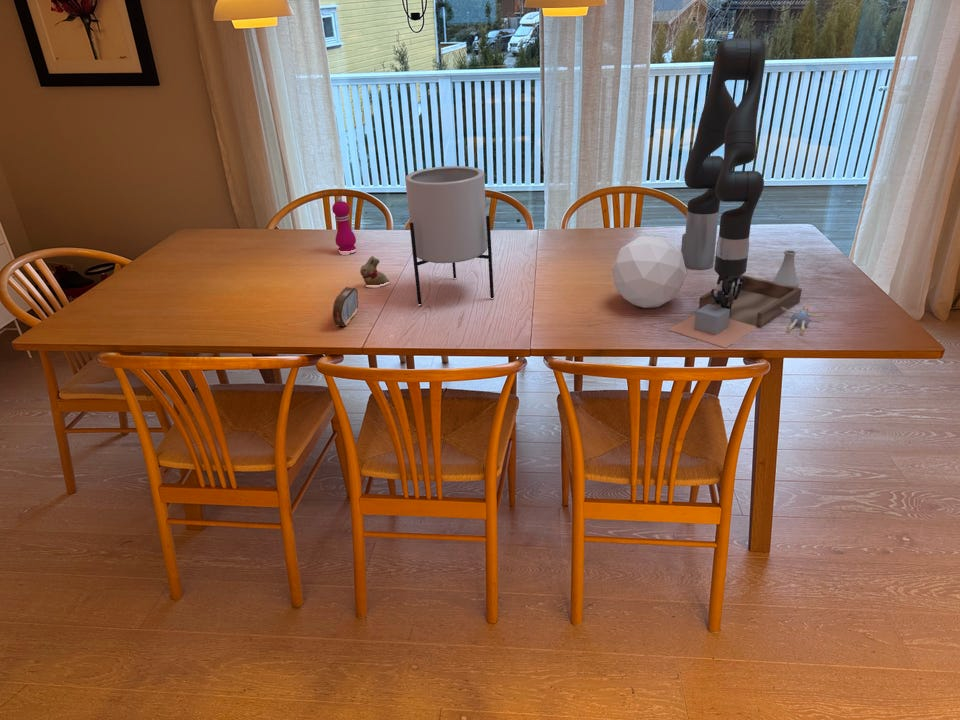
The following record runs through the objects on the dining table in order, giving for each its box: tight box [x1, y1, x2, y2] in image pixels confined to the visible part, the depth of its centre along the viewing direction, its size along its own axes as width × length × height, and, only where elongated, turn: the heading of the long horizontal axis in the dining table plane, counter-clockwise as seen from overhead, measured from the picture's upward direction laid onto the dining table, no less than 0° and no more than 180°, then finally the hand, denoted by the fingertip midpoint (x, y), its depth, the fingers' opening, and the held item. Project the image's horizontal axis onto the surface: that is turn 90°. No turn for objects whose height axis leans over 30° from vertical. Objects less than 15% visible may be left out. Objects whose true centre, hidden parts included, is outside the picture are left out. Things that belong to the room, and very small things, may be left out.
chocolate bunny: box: [359, 255, 390, 285], centre depth 215 cm, size 6×8×10 cm
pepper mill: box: [332, 196, 357, 251], centre depth 244 cm, size 7×7×20 cm
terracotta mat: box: [668, 314, 758, 349], centre depth 175 cm, size 16×16×1 cm
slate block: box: [694, 304, 730, 335], centre depth 174 cm, size 6×6×5 cm
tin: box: [332, 286, 359, 326], centre depth 192 cm, size 15×3×8 cm, turn 171°
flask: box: [772, 249, 800, 288], centre depth 196 cm, size 7×7×10 cm
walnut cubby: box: [698, 274, 803, 328], centre depth 185 cm, size 17×22×4 cm
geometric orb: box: [612, 235, 688, 309], centre depth 187 cm, size 19×20×20 cm
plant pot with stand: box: [404, 165, 495, 305], centre depth 198 cm, size 24×24×36 cm
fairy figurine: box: [780, 305, 830, 336], centre depth 173 cm, size 12×5×12 cm
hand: (724, 317), depth 178 cm, fingers closed
